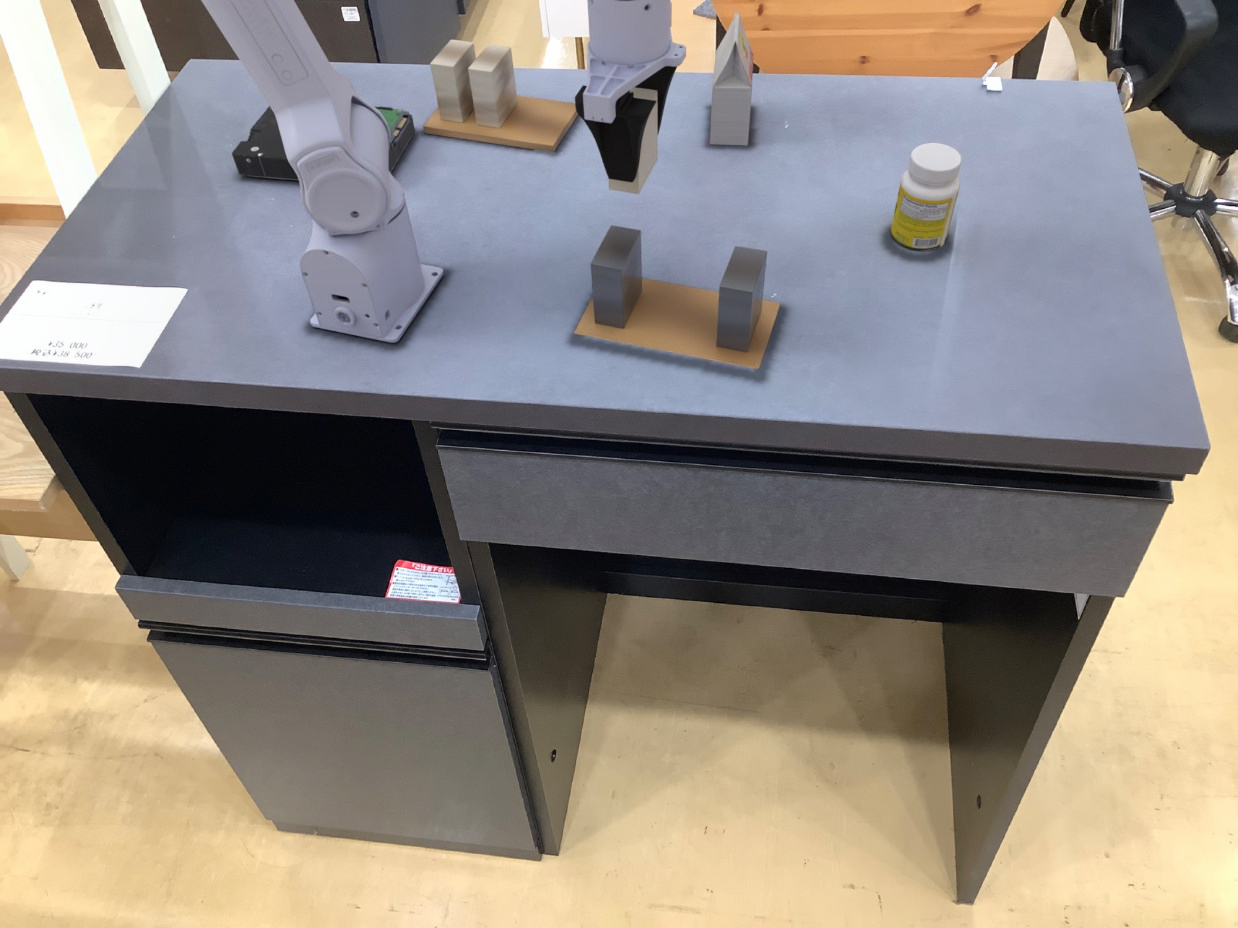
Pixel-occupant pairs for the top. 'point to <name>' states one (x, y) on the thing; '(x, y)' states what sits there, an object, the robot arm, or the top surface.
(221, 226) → the top surface
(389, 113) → the disk drive
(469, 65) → the cream rack
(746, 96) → the gable top juice carton
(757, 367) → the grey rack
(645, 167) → the beige block
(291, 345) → the top surface
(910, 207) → the supplement bottle
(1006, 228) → the top surface
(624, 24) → the robot arm
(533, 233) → the top surface
